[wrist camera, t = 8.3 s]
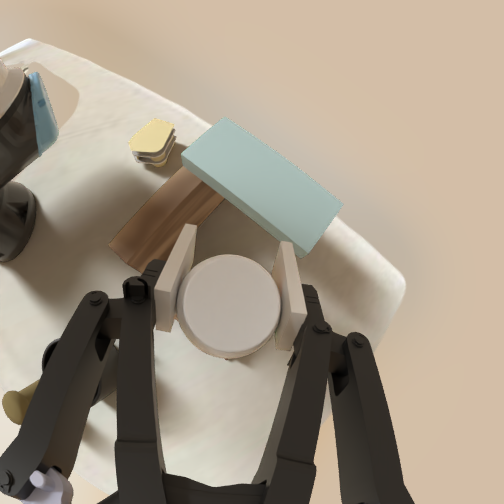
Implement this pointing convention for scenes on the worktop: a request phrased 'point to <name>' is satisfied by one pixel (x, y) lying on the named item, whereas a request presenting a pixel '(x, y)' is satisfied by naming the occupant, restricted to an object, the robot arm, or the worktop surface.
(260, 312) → the supplement bottle
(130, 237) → the wall
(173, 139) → the pale yellow layered block
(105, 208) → the worktop surface
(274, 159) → the plank
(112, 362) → the mug
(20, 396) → the cork
